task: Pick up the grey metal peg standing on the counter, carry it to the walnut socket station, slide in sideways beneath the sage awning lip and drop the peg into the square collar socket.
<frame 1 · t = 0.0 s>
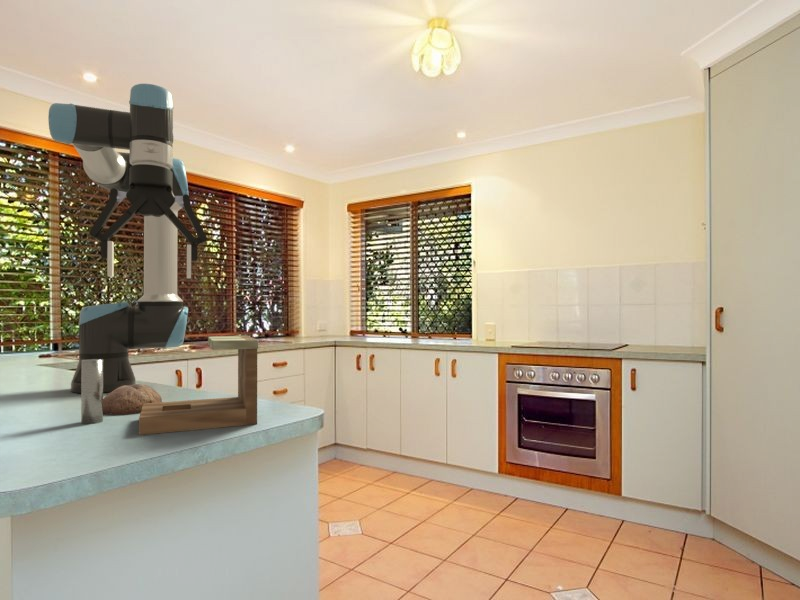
hand: (150, 277, 98), 28 cm above the counter, fingers open, 13 cm apart
socket station: (176, 423, 97), on the counter
peg: (92, 421, 98), on the counter
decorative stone: (131, 410, 111), on the counter
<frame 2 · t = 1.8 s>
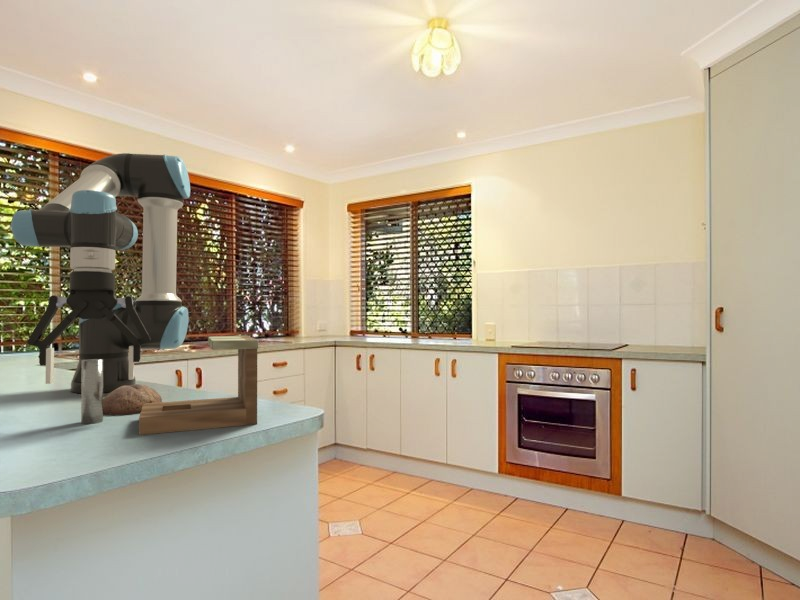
hand: (91, 381, 98), 8 cm above the counter, fingers open, 13 cm apart
nothing on the counter moved.
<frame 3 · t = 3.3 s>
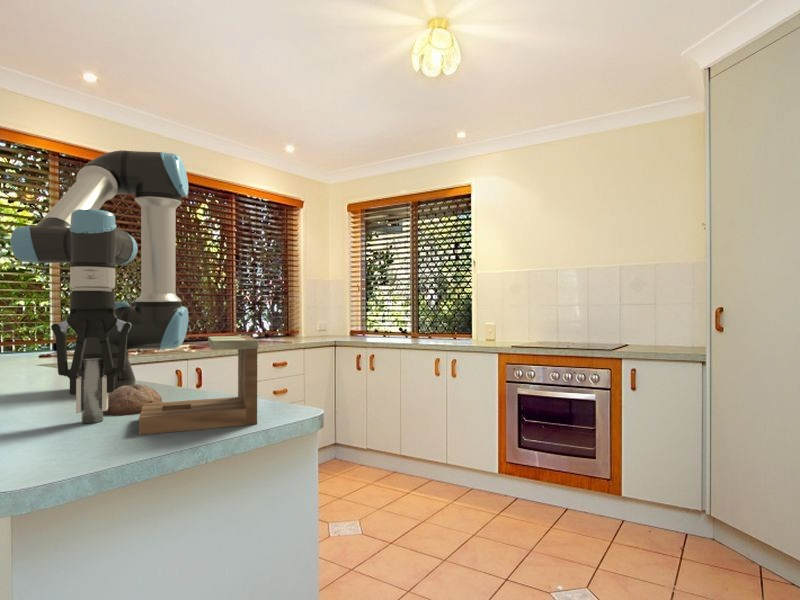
hand: (92, 410, 98), 2 cm above the counter, fingers closed on peg, 3 cm apart
peg: (92, 421, 98), on the counter, touching gripper
everything else where it was.
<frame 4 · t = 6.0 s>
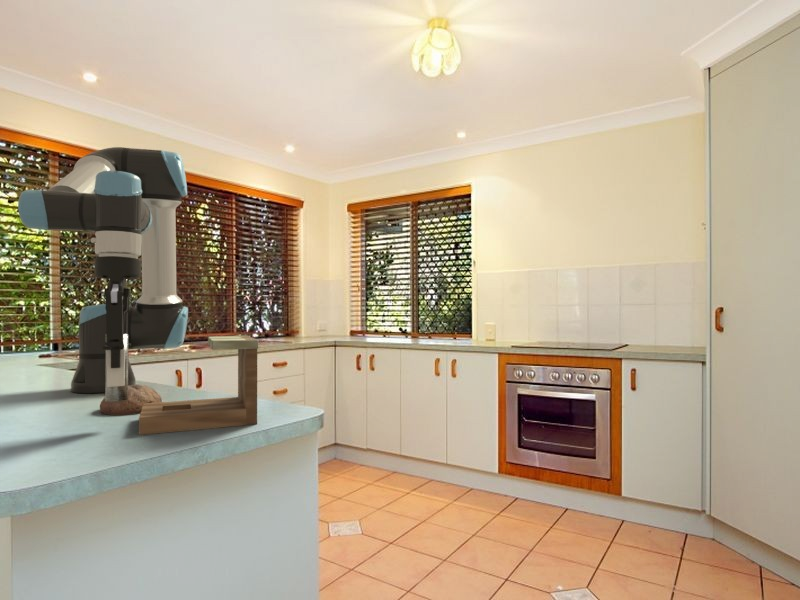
hand: (117, 384, 93), 8 cm above the counter, fingers closed on peg, 3 cm apart
peg: (116, 399, 93), point 5 cm above the counter, touching gripper
everything else where it was.
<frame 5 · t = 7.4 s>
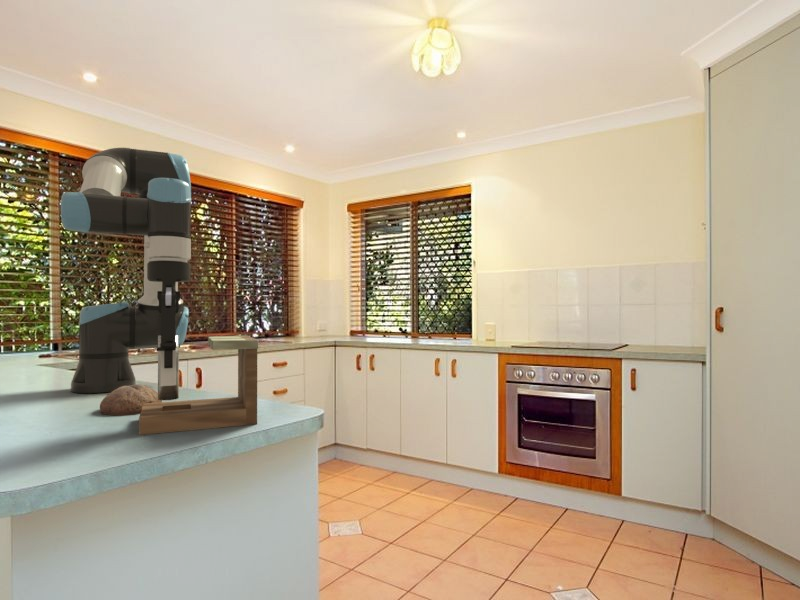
hand: (168, 383, 96), 8 cm above the counter, fingers closed on peg, 3 cm apart
peg: (168, 398, 96), point 5 cm above the counter, touching gripper
everything else where it was.
when the fingers open (4 cm above the counter, at t = 8.8 s): peg stays where it is, on the counter.
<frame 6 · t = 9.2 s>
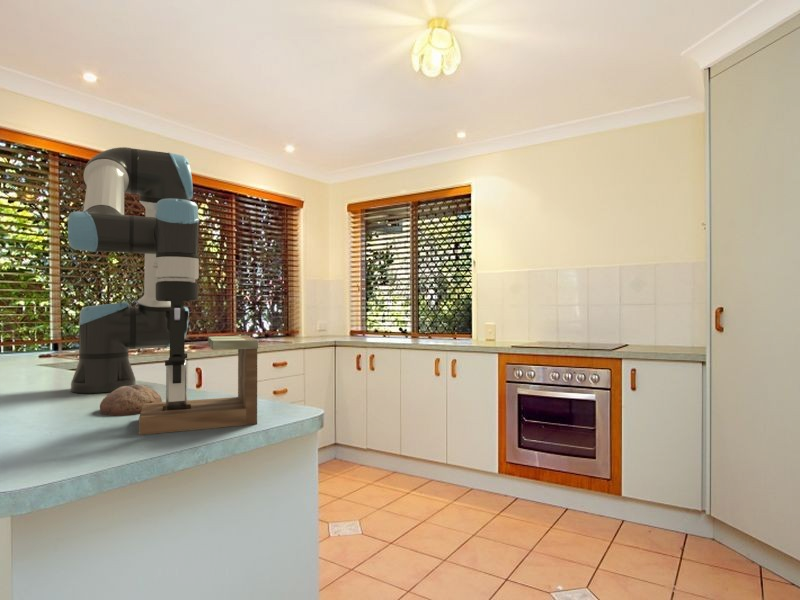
hand: (176, 396, 97), 5 cm above the counter, fingers open, 10 cm apart
peg: (176, 423, 97), on the counter
everything else where it was.
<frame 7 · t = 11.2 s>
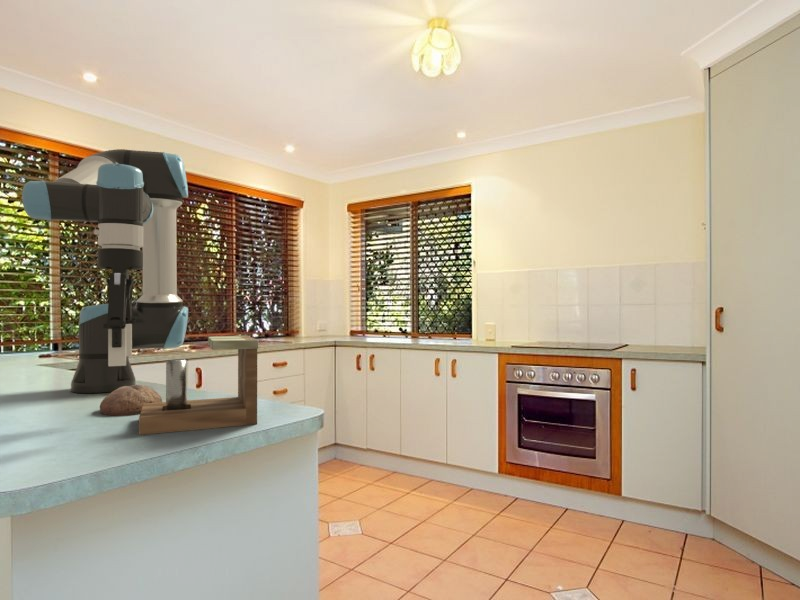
hand: (120, 361, 96), 12 cm above the counter, fingers open, 13 cm apart
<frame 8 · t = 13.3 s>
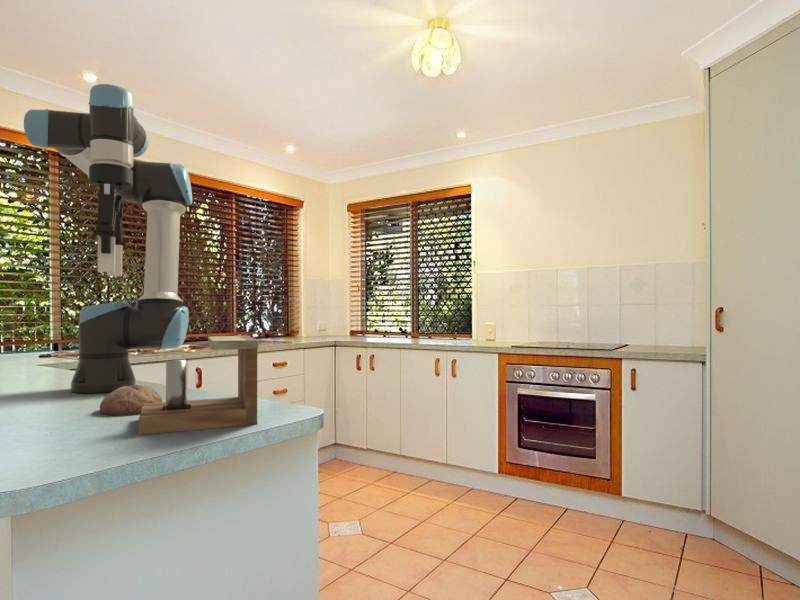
hand: (110, 274, 100), 29 cm above the counter, fingers open, 13 cm apart
at the end: peg 0.1 cm off-centre on the socket station, point 0.0 cm above the socket station's base; peg tilted 0°; the gripper is holding nothing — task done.
